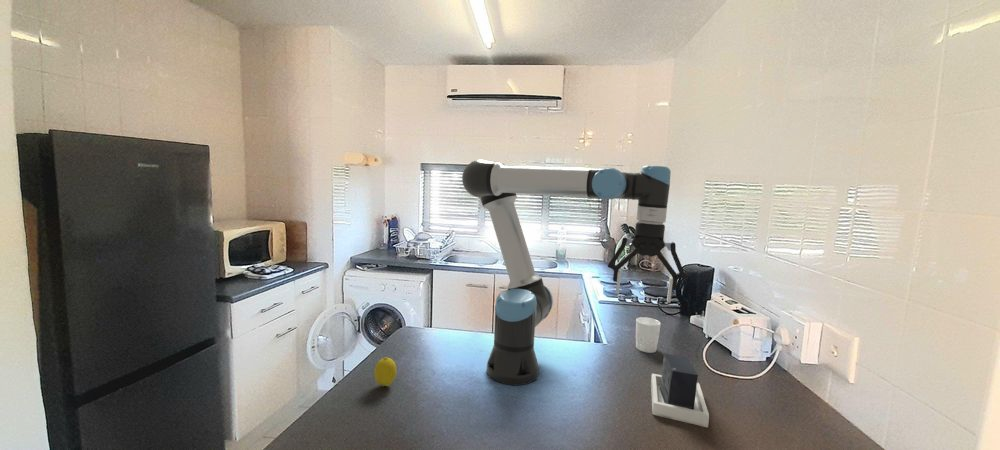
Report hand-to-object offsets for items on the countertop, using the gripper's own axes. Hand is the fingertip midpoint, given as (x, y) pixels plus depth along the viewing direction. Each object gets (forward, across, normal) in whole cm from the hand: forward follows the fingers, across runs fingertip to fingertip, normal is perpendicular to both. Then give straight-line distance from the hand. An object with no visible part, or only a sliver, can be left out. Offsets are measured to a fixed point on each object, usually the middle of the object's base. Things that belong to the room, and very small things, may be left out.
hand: (642, 297), depth 105 cm
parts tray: (+24, +11, -8) cm, 28 cm away
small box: (+24, +11, -8) cm, 28 cm away
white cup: (+25, +3, +25) cm, 35 cm away
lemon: (+26, -60, -35) cm, 74 cm away
